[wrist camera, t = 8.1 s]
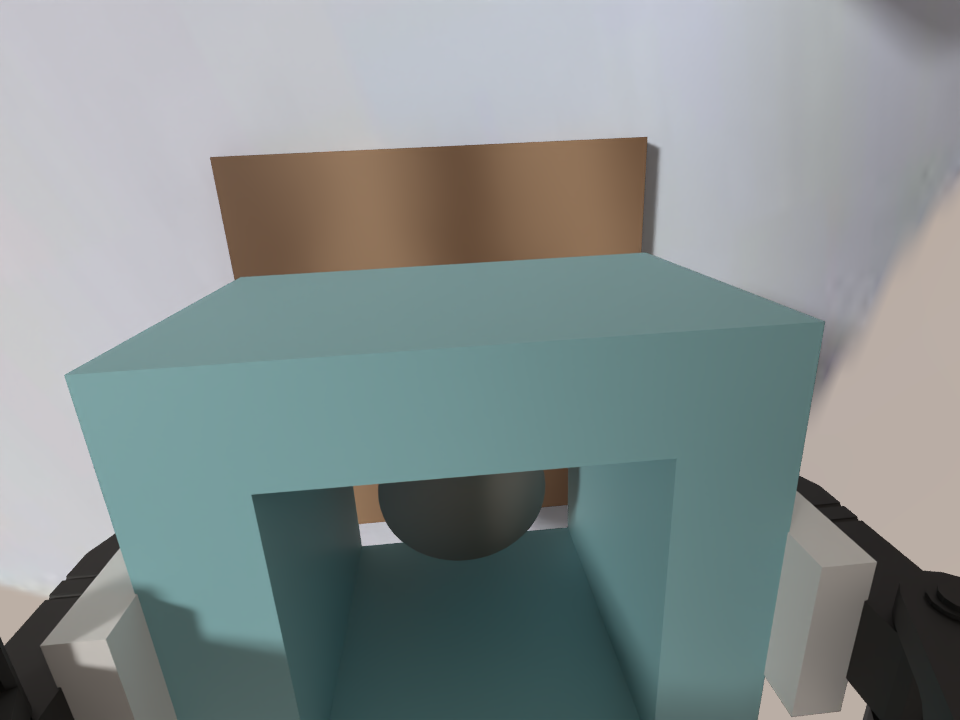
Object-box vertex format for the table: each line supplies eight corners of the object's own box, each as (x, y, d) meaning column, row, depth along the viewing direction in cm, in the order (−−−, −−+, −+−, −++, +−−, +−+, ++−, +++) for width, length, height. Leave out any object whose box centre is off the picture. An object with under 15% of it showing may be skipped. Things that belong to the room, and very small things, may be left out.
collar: (304, 605, 15) (225, 874, 9) (240, 277, 12) (63, 375, 6) (628, 573, 15) (742, 809, 10) (645, 252, 12) (825, 321, 7)
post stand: (289, 518, 22) (193, 762, 13) (219, 157, 18) (-8, 149, 9) (620, 488, 23) (745, 697, 14) (638, 138, 19) (841, 111, 9)
